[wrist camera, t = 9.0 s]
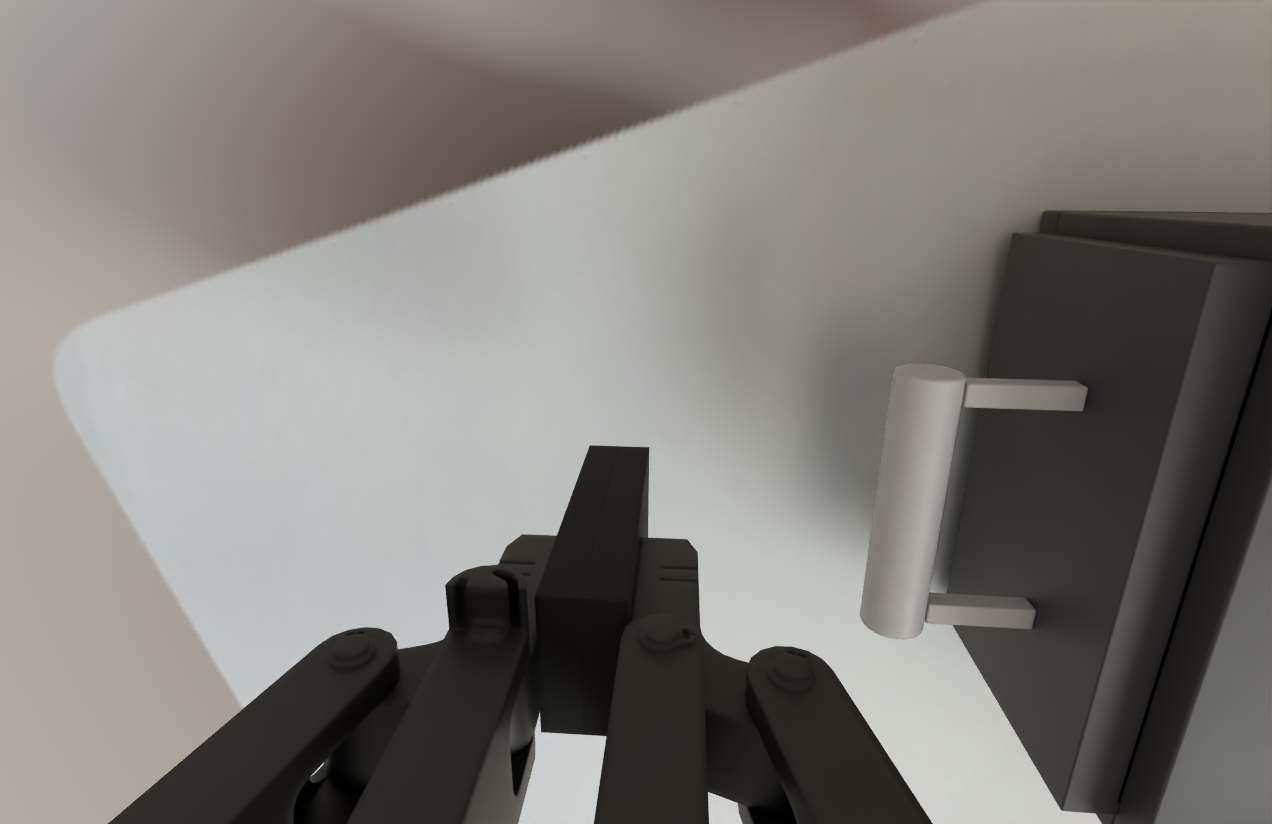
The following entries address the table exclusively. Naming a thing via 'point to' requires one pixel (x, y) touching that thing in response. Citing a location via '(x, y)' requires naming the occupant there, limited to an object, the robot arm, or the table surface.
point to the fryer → (1210, 587)
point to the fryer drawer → (1072, 487)
